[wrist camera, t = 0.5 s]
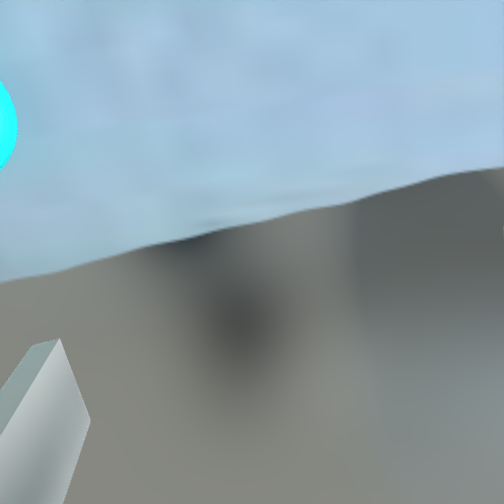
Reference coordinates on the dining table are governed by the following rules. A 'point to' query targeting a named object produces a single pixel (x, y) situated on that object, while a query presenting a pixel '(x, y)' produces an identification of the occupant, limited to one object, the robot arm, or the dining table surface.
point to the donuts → (7, 126)
